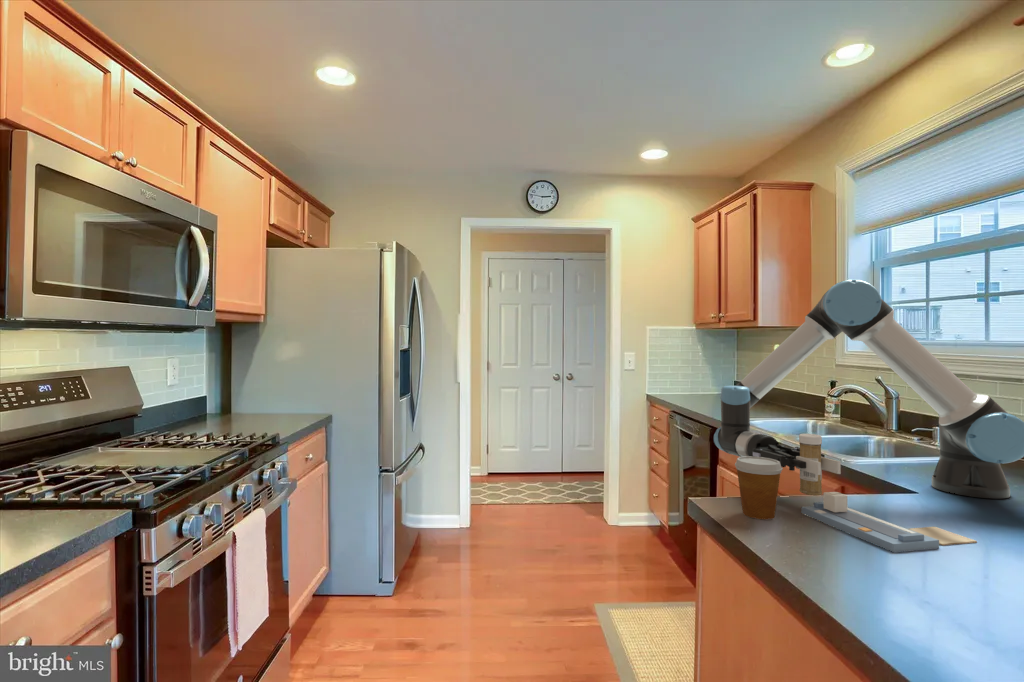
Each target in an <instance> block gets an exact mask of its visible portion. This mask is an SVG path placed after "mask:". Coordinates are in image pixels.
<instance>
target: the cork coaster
mask: <svg viewBox="0 0 1024 682" xmlns="http://www.w3.org/2000/svg"><path fill="white" fill-rule="evenodd" d="M908 529H909V530H912V531H915V532H918V533H921V534H924V535H926V536H929V537H932V538H934V539H937V540H939V546H951V545H954V544H955V545H963V544H966V545H967V544H975V543H976V544H977V543H978V541H977V540H975V539H973V538H969V537H966V536H964V535H960V534H958V533H955V532H951V531H949V530H946V529H943V528H940V527H937V526H925V527H924V526H923V527H911V528H908Z"/></svg>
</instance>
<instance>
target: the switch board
mask: <svg viewBox="0 0 1024 682" xmlns="http://www.w3.org/2000/svg"><path fill="white" fill-rule="evenodd" d="M800 509H801V513H803V514H806V515H808V516H810V517H813V518H815V519H817V520H816V521H818V520H820V521H822V522H824V523H823V524H825V523H826V524H825V525H827V524H829V525H828V526H830V525H831V526H830V527H832V526H834V527H836V528H835V529H837V528H838V529H837V530H839V529H841V530H843V531H842V532H844V531H845V532H844V533H846V532H847V533H846V534H849V533H850V534H849V535H851V534H852V535H851V536H853V535H854V536H853V537H856V538H858V537H859V538H858V539H860V538H861V539H860V540H863V541H865V540H866V542H868V541H869V542H868V543H870V542H871V544H872V543H874V544H873V545H875V544H876V545H875V546H877V545H878V546H877V547H879V546H880V547H879V548H882V547H883V548H882V549H884V548H885V549H884V550H887V551H889V550H890V551H889V552H891V551H892V553H903V551H904V552H913V551H914V550H916V551H924V550H925V551H926V550H934V549H935V550H936V549H937V548H938V549H940V544H939V540H937V539H934V538H932V537H929V536H926V535H924V534H921V533H918V532H915V531H912V530H909V528H906V527H903V526H901V525H898V524H895V523H893V522H890V521H887V520H885V519H882V518H879V517H875V516H873V515H870V514H868V513H864V512H862V511H859V510H857V509H854V508H851V507H848V512H832V511H830V510H827V509H824V504H823V501H813V505H812V506H811V505H810V506H801V508H800ZM803 514H802V515H803ZM806 515H805V516H806ZM808 516H807V517H808ZM810 517H809V518H810ZM813 518H812V519H813ZM815 519H814V520H815ZM820 521H819V522H820ZM822 522H821V523H822ZM834 527H833V528H834ZM841 530H840V531H841ZM901 551H902V552H901Z"/></svg>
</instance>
